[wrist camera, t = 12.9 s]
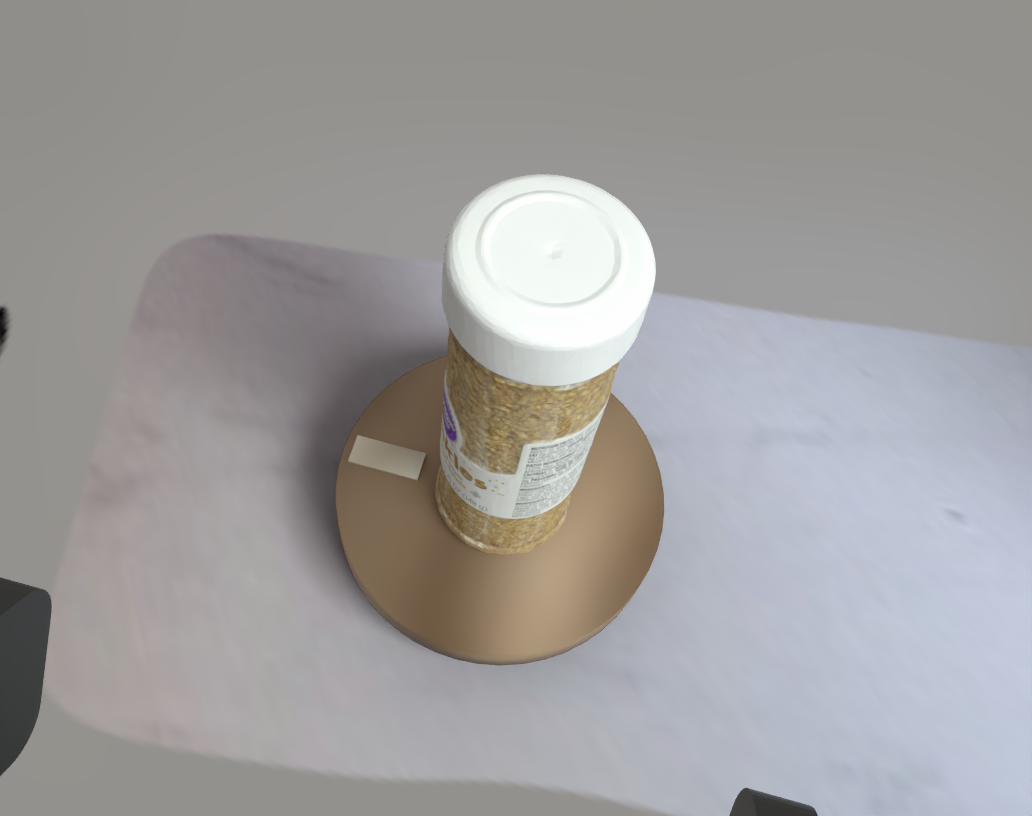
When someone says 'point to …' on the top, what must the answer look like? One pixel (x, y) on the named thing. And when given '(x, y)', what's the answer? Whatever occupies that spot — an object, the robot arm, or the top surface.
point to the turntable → (488, 576)
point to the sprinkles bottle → (532, 350)
